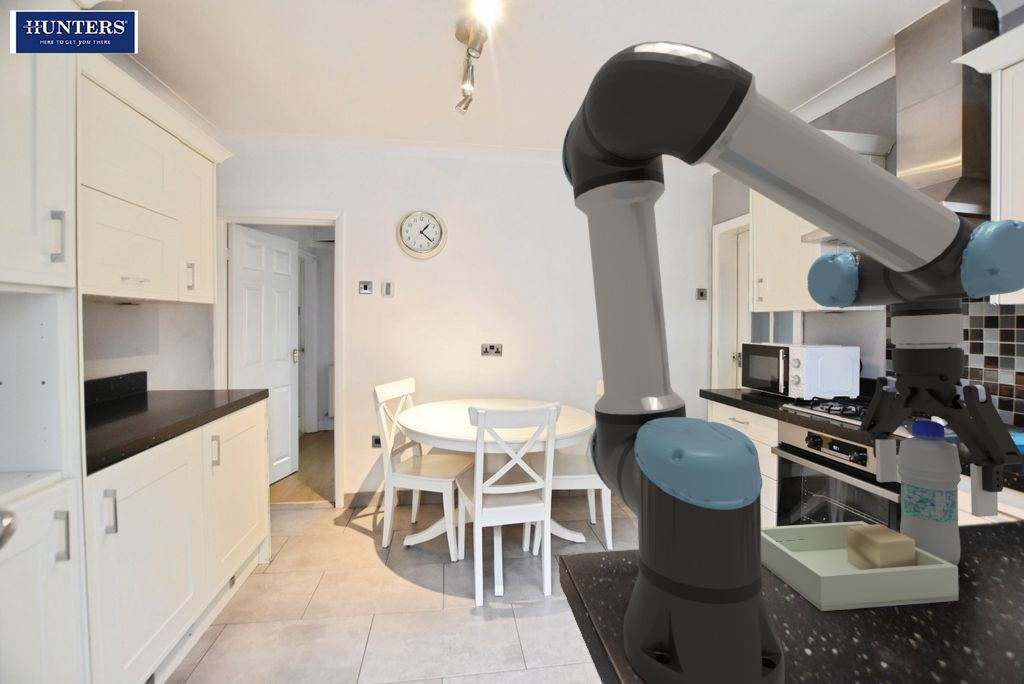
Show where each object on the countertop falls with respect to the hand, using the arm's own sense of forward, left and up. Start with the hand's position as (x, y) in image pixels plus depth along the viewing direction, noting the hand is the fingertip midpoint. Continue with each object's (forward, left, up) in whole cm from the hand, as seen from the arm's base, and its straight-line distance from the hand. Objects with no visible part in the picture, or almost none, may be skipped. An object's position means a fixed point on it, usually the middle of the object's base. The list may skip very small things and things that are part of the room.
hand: (930, 496), depth 64 cm
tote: (-14, -5, -9) cm, 18 cm away
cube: (-9, -4, -9) cm, 13 cm away
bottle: (0, 0, -9) cm, 9 cm away
